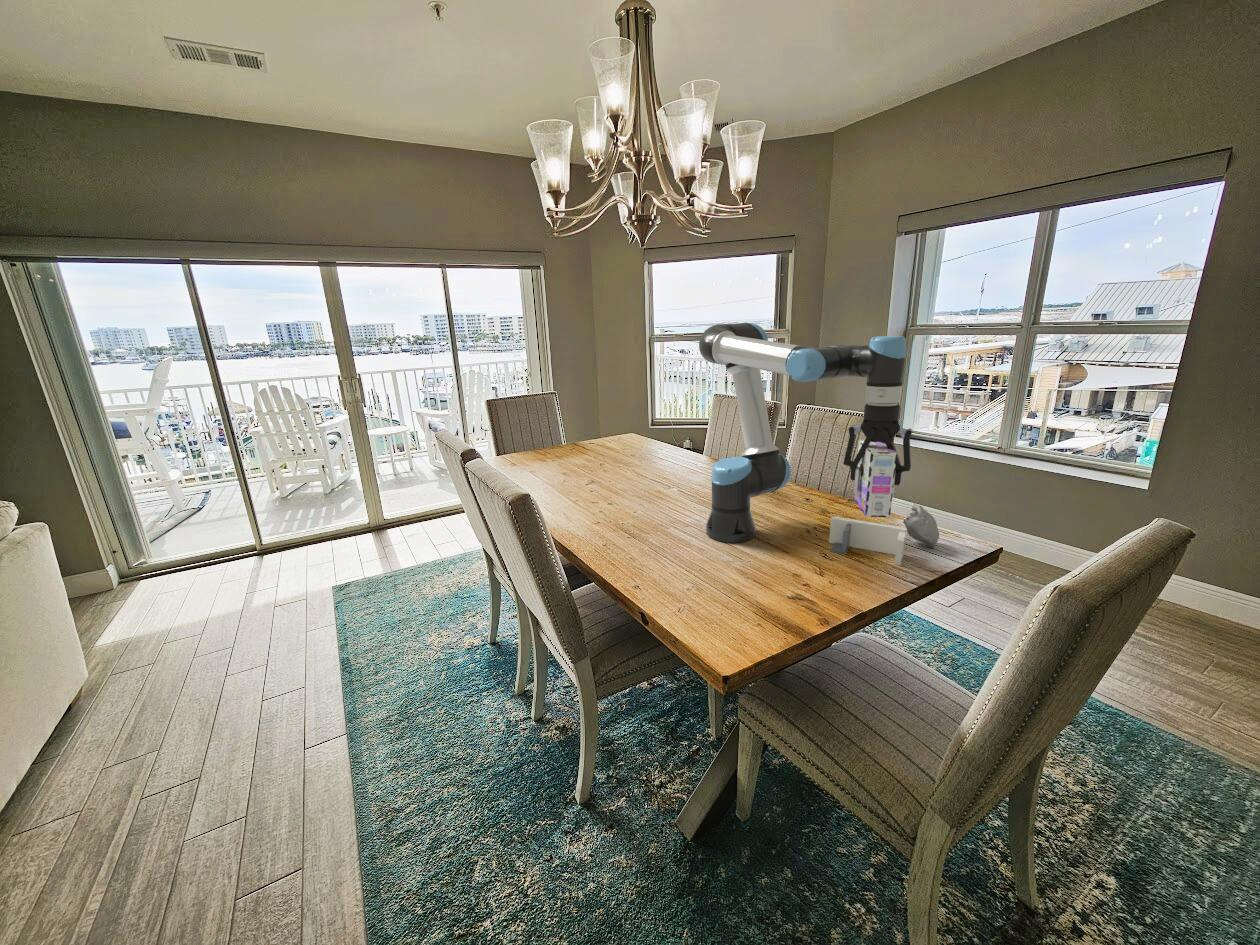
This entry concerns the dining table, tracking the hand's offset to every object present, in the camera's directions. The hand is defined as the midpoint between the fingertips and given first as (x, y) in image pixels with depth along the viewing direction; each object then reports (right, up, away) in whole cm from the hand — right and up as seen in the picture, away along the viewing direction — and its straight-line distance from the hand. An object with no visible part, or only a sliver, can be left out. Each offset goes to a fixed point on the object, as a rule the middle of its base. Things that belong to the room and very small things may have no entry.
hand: (873, 494), depth 120 cm
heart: (+22, -16, +16) cm, 31 cm away
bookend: (-1, -16, +16) cm, 23 cm away
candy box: (+1, -4, +2) cm, 5 cm away
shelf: (+4, -17, +14) cm, 22 cm away
